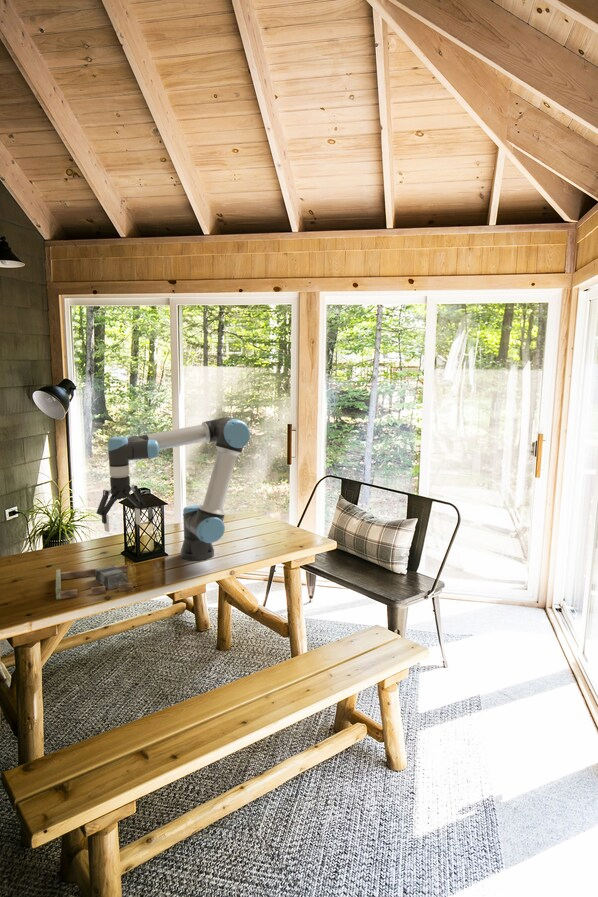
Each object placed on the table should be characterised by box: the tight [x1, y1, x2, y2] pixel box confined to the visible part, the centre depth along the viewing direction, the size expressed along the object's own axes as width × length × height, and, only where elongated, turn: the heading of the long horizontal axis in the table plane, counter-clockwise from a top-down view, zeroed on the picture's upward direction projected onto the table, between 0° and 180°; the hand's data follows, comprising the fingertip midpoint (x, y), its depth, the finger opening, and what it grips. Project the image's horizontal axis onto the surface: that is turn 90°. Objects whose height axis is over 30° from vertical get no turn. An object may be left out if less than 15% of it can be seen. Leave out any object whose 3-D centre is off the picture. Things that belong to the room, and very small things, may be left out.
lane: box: [55, 564, 133, 600], centre depth 243 cm, size 28×23×4 cm
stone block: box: [94, 565, 129, 591], centre depth 245 cm, size 9×14×5 cm, turn 38°
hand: (122, 527), depth 247 cm, fingers open, 13 cm apart
